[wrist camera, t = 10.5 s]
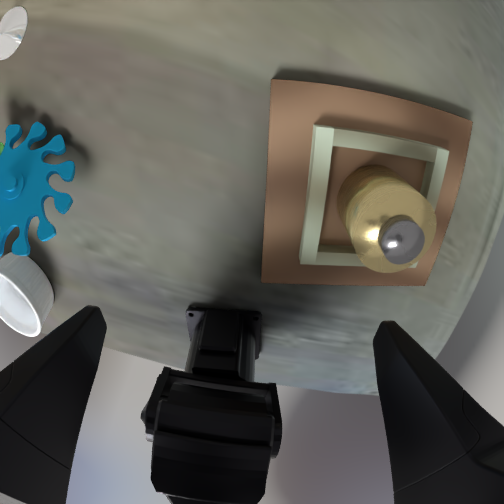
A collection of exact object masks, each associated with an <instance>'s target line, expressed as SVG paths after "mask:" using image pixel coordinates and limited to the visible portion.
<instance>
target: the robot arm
mask: <svg viewBox="0 0 504 504" xmlns="http://www.w3.org/2000/svg"><path fill="white" fill-rule="evenodd" d="M192 313H193V314H192ZM186 319H187V325H188V330H189V336H190V341H191V345H190V349H189V353H188V358H187V362H186V367H185V371H179V370H174V369H171V368H170V367H164V368H163V371H162V373H161V374H159V377H157V381H156V384H155V386H154V389H153V392H152V394H151V397H150V399H149V401H148V402H147V404H146V406H145V407H144V409H143V411H142V413H141V419H142V421H143V422H144V424H145V430H146V439H147V441H150V442H153V447H152V460H151V481H152V484H153V486H154V488H155V490H156V492H157V493H161V494H165V495H166V497H167V498H168V500H169V501H170V503H171V504H257V503H258V502H259V501H260V500H261V498H262V497H263V495H264V494H265V486H266V479H267V474H268V468H269V463H270V459H271V458H272V459H274V458H276V456H277V455H278V452H279V449H280V445H281V439H282V418H281V413H280V406H279V400H278V394H277V387H276V383H258V382H254V372H255V360H256V359H258V357H259V346H260V333H261V320H262V315H261V313H260V312H258V311H241V310H222V309H206V308H192V307H191V308H188V309H187V310H186ZM106 329H107V326H106V322H105V320H104V317H103V315H102V312H101V310H100V308H99V307H97V306H91V305H88V306H86V307H84V308H83V309H82V310H80V311H79V312H77V313H76V314H75V315H73V316H72V317H71V318H69V319H68V320H67V321H65V322H64V323H62V324H61V325H60V326H58V327H57V328H56V329H54V330H53V331H52V332H50V333H49V334H48V335H46V336H45V337H44V338H43V339H41V340H40V341H39V342H37V343H36V344H35V345H34V346H32V347H31V348H30V349H28V350H27V351H26V352H24V353H23V354H22V355H21V356H19V357H18V358H17V359H16V360H14V362H12V363H11V364H9V365H8V366H7V367H6V368H4V369H3V370H2V371H1V372H0V504H66V498H67V491H68V485H69V479H70V474H71V468H72V462H73V458H74V453H75V449H76V444H77V440H78V436H79V432H80V428H81V424H82V420H83V416H84V413H85V409H86V405H87V402H88V398H89V395H90V392H91V388H92V385H93V382H94V379H95V375H96V372H97V369H98V364H99V360H100V356H101V351H102V347H103V342H104V338H105V334H106ZM373 349H374V357H375V367H376V377H377V386H378V391H379V396H380V401H381V406H382V412H383V417H384V423H385V430H386V436H387V442H388V449H389V455H390V464H391V472H392V481H393V491H394V504H504V426H503V425H502V424H500V423H499V422H498V421H497V420H496V419H495V418H493V417H492V416H491V415H490V414H489V413H488V412H487V411H486V410H485V409H484V408H482V407H481V406H480V405H479V404H478V403H477V402H476V401H475V400H474V399H473V398H472V397H471V396H470V395H469V394H468V393H467V392H466V391H465V390H463V388H462V387H461V386H460V385H459V384H458V382H457V381H456V380H455V379H454V378H453V377H451V375H450V374H449V373H447V371H445V369H444V368H443V367H442V366H441V365H440V364H439V363H438V362H437V361H436V360H435V359H434V358H433V357H432V356H430V355H429V354H428V353H427V352H426V351H425V350H424V349H423V348H422V347H421V346H420V345H419V344H418V343H417V342H416V341H415V340H414V339H413V338H412V337H411V336H410V335H409V334H408V333H407V332H406V331H404V330H403V329H402V328H401V327H400V326H399V325H398V324H397V323H396V322H395V321H382V322H381V324H380V325H379V328H378V330H377V332H376V334H375V336H374V339H373Z"/></svg>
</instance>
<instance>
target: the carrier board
mask: <svg viewBox="0 0 504 504" xmlns="http://www.w3.org/2000/svg"><path fill="white" fill-rule="evenodd" d="M472 123H473V122H472V121H470V120H467V119H465V118H462V117H459V116H456V115H454V114H451V113H448V112H445V111H442V110H439V109H436V108H432V107H429V106H426V105H422V104H419V103H415V102H412V101H408V100H404V99H400V98H396V97H392V96H388V95H384V94H379V93H375V92H370V91H365V90H359V89H354V88H348V87H342V86H335V85H328V84H321V83H312V82H303V81H292V80H278V79H271V94H270V117H269V138H268V159H267V179H266V198H265V217H264V234H263V252H262V269H261V283H283V284H315V285H367V286H425V284H426V282H427V280H428V277H429V275H430V272H431V270H432V268H433V265H434V263H435V260H436V257H437V255H438V252H439V250H440V247H441V244H442V241H443V238H444V236H445V233H446V230H447V227H448V224H449V221H450V217H451V214H452V211H453V208H454V204H455V201H456V197H457V194H458V190H459V186H460V182H461V178H462V174H463V170H464V166H465V161H466V156H467V151H468V146H469V141H470V135H471V129H472ZM367 165H382V166H385V167H388V168H390V169H392V170H393V171H394V172H396V173H397V174H398V175H399V176H400V177H402V178H403V179H404V180H405V181H406V182H408V183H409V184H410V185H411V186H412V187H413V188H414V189H416V190H417V191H418V192H419V193H420V194H421V195H422V196H423V197H425V198H426V199H427V200H428V201H429V203H430V204H431V205H432V207H433V209H434V212H435V215H436V233H435V236H434V239H433V242H432V244H431V246H430V248H429V249H428V251H427V252H426V253H425V254H424V256H423V257H422V258H421V259H420V260H419V261H417V262H416V263H415V264H413V265H412V266H410V267H408V268H406V269H404V270H401V271H398V272H392V273H381V272H376V271H374V270H371V269H369V268H368V267H366V266H365V265H364V264H363V263H362V262H361V261H360V259H359V258H358V256H357V254H356V251H355V249H354V247H353V245H352V243H351V241H350V238H349V236H348V234H347V232H346V230H345V228H344V226H343V224H342V221H341V219H340V217H339V215H338V212H337V207H336V201H337V194H338V191H339V189H340V186H341V185H342V183H343V181H344V180H345V179H346V178H347V177H348V176H349V175H350V174H351V173H352V172H354V171H355V170H357V169H359V168H361V167H364V166H367Z"/></svg>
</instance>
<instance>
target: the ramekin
mask: <svg viewBox="0 0 504 504" xmlns="http://www.w3.org/2000/svg"><path fill="white" fill-rule="evenodd" d="M53 301H54V295H53V290H52V287H51V284H50V282H49V280H48V278H47V277H46V275H45V274H44V272H43V271H42V270H41V268H40V267H39V266H38V265H37V264H36V263H35V262H34V261H33V260H32V259H30V258H29V257H28V256H19V255H15V254H13V253H12V252H10V253H8V254H7V255H5V256H4V257H3V258H1V259H0V318H1V319H2V320H3V321H4V322H5V323H6V324H8V325H9V326H10V327H11V328H13V329H14V330H15V331H17V332H19V333H21V334H23V335H26V336H36V335H38V334H39V333H40V331H41V329H42V324H43V322H44V320H45V319H46V317H47V315H48V313H49V311H50V310H51V308H52V305H53Z"/></svg>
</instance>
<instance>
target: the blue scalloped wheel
mask: <svg viewBox="0 0 504 504" xmlns="http://www.w3.org/2000/svg"><path fill="white" fill-rule="evenodd" d="M21 135H22V129H21V127H20V125H18V124H12V125H8V127H7V128H6V143H5V146H4V144H3V143H1V142H0V257H1V256H2V254H3V252H4V245H5V241H6V238H7V236H8V235H9V233H10V232H11V231H12V230H13V228H15V227H17V226H18V227H19V230H20V234H19V237H18V238H17V239H16V240H15V241H14V243H13V245H12V253H13V254H15V255H19V256H27V255H29V254H30V249H31V248H30V245H29V241H28V228H29V224H30V221H31V219H32V218H33V217H35V216H38V217H39V220H40V222H39V226H38V230H37V236H38V238H39V239H40V240H41V241H47V240H49V239H51V238H52V237H54V236H55V235H56V229H55V227H54V226H53V225H52V224H50V222H49V221H48V220H47V218H46V216H45V212H44V201H45V199H46V198H48V197H53V198H54V203H55V207H56V209H57V210H58V211H59V212H60V213H62V214H65V213H66V212H67V211H68V210H69V208H70V207H71V205H72V203H73V200H72V198H71V196H70V195H69V194H67V193H60V192H57V191H55V190H54V189H53V188H52V187H51V186H50V185H49V183H48V180H49V177H50V176H51V175H52V174H59V175H60V176H61V178H62V179H63V180H64V181H66V182H70V181H72V180H73V178H74V175H75V164H74V162H72V161H66V162H63V163H61V164H57V165H51V164H47V163H44V162H43V160H44V157H45V156H46V155H47V154H55V155H62V154H63V153H65V152H66V147H65V143H64V140H63V138H62V136H61V135H56V136H55V137H53V138H52V140H51V141H50V142H49V143H48V144H46V145H45V146H43V147H41V148H38V149H35V150H30V147H31V145H32V144H33V143H34V142H37V141H40V140H42V139H44V138H45V137H46V135H47V131H46V128H45V127H44V126H43V125H42V124H41V123H39V122H35V123H34V124H33V125H32V127H31V129H30V132H29V134H28V136H27V138H26V139H25V140H24V141H23V142H22V143H21V144H20V145H19V146H18V147H17V148H15V149H12V147H13V144H14V143H15V142H16V141H17V140H18V139H19V138H20V137H21Z"/></svg>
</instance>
